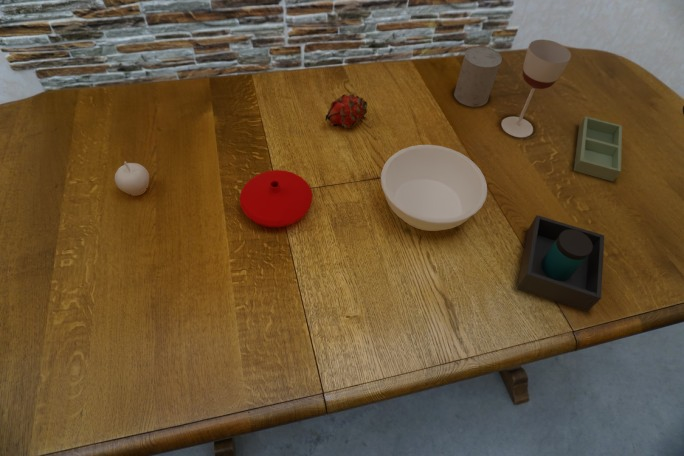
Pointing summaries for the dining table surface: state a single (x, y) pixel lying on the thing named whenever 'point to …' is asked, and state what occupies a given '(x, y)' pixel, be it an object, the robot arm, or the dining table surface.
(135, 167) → the plain white apple
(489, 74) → the gray cylinder
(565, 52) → the wineglass
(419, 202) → the bowl
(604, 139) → the green divided tray
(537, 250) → the dark grey open box
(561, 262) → the travel mug
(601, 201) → the dining table surface
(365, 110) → the dragon fruit
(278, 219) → the red disc with nozzle
